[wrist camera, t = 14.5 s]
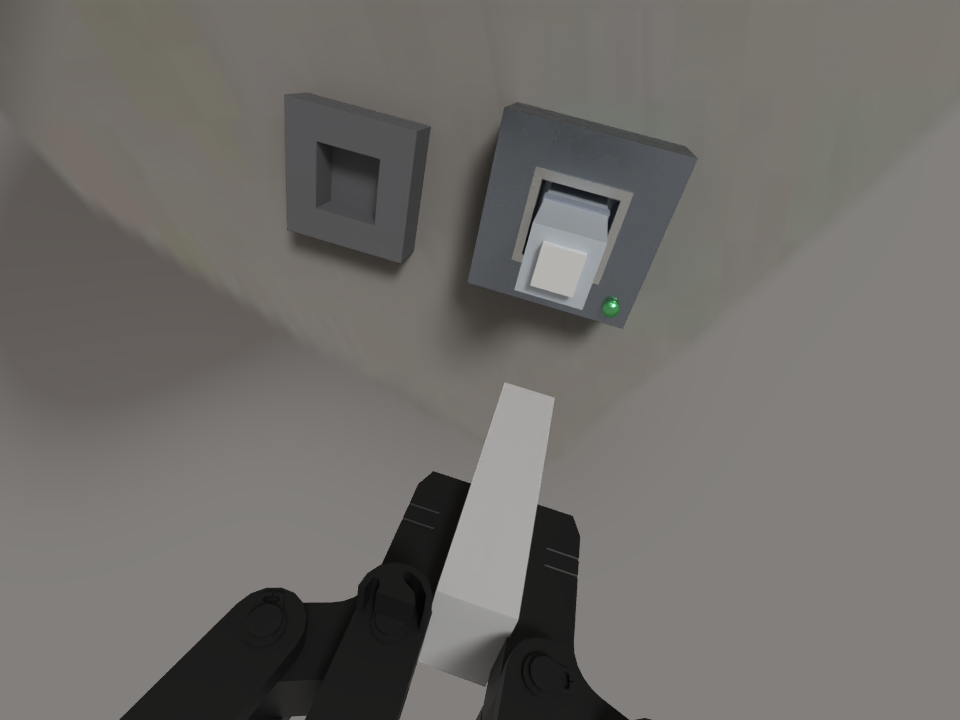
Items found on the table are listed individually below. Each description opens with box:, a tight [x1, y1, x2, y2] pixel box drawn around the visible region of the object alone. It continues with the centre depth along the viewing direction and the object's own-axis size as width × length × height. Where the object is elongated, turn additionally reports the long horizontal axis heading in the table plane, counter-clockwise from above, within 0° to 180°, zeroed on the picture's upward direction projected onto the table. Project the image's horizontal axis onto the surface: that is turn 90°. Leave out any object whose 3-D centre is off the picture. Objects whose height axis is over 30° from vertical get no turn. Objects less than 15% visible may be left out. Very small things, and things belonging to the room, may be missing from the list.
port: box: [467, 102, 698, 329], centre depth 34 cm, size 12×12×6 cm
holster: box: [284, 93, 431, 263], centre depth 37 cm, size 10×10×3 cm
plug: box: [514, 182, 610, 310], centre depth 30 cm, size 4×4×13 cm
